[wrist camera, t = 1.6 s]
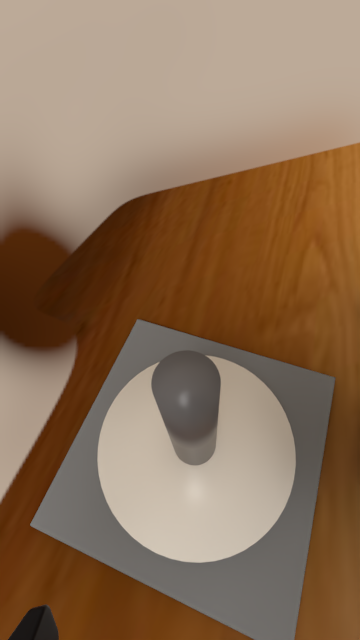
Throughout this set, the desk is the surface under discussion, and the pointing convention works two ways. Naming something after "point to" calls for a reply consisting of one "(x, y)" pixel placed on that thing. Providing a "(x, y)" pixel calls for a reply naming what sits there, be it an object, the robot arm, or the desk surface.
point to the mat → (216, 576)
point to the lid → (196, 458)
